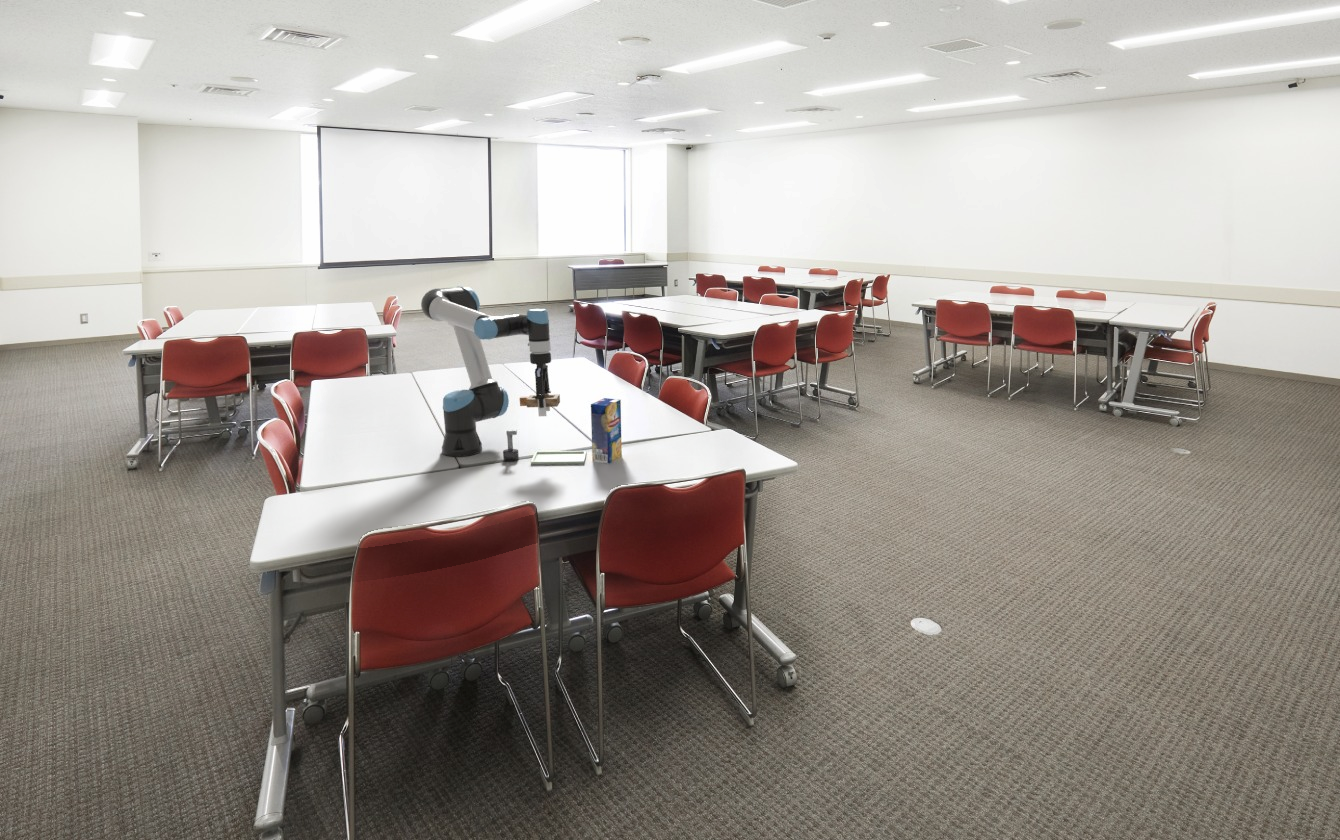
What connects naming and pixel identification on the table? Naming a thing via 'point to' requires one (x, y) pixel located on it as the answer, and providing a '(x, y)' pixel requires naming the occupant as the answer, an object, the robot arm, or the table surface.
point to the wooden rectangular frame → (532, 402)
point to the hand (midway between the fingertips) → (544, 413)
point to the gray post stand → (510, 448)
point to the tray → (558, 457)
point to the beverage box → (606, 430)
